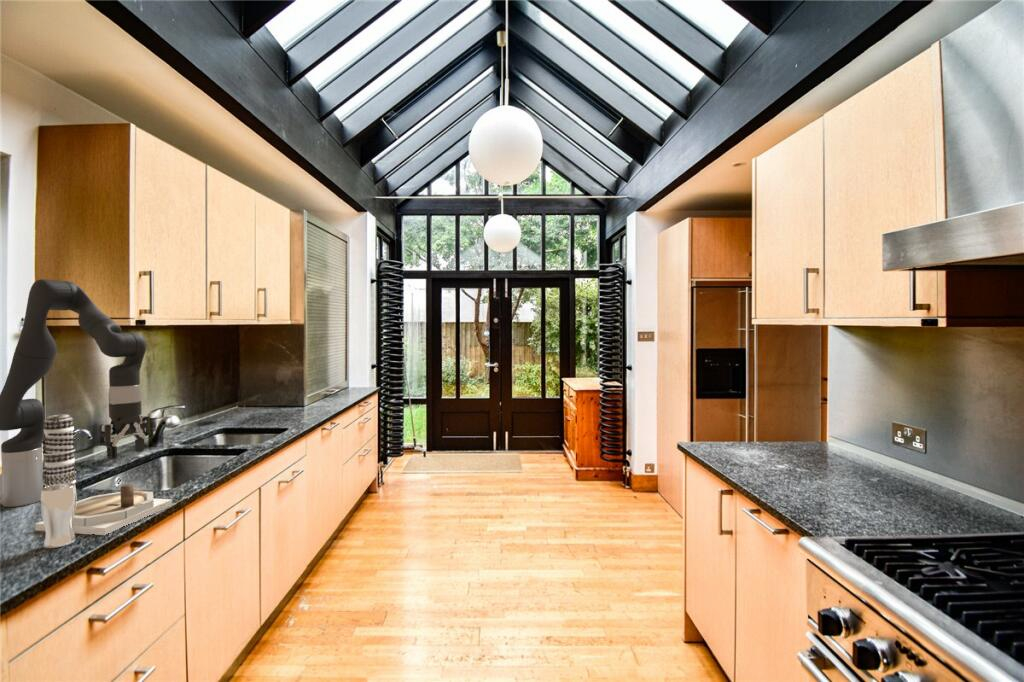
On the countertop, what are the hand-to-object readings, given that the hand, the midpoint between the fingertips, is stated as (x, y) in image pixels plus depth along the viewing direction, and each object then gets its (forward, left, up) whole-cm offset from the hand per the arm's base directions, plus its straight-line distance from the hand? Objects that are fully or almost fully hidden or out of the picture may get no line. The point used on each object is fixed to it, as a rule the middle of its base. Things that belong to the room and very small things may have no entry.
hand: (126, 455), depth 142 cm
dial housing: (-7, 0, -19) cm, 20 cm away
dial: (-7, 0, -17) cm, 18 cm away
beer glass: (-3, -17, -19) cm, 26 cm away
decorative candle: (-53, +24, -19) cm, 61 cm away
